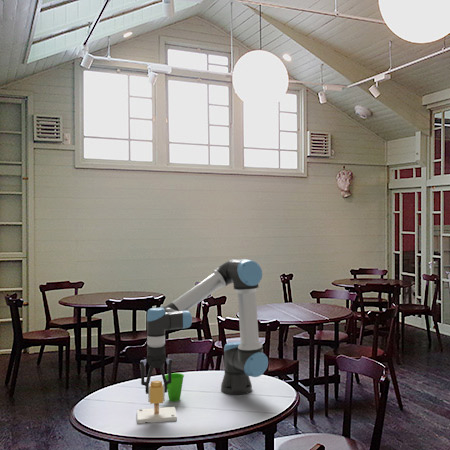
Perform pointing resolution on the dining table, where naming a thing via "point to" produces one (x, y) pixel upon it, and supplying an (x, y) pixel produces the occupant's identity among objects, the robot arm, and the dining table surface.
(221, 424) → the dining table surface
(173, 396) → the cup
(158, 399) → the ball on cube
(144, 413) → the lid
